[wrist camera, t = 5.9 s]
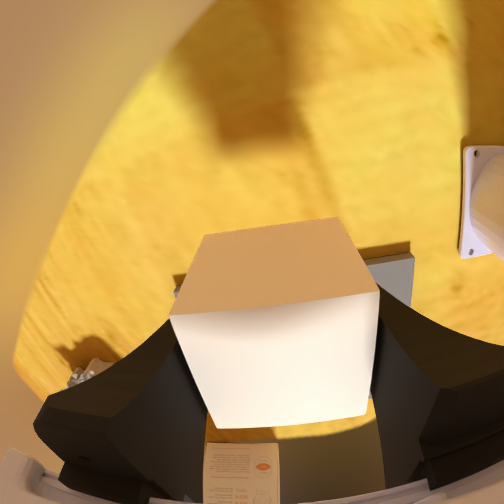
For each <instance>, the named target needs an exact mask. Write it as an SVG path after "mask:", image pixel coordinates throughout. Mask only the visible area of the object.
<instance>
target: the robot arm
mask: <svg viewBox="0 0 504 504" xmlns="http://www.w3.org/2000/svg"><path fill="white" fill-rule="evenodd" d="M475 150H476V156H474V152H475ZM470 249H471V251H470V252H469V250H470ZM458 253H459V256H460V257H461V258H462V259H467V258H472V257H477V256H482V255H486V254H491V253H494V254H495V255H496V256H497V257H498V258H500V259H501V260H502V261H503V262H504V146H496V145H477V146H466V147H465V148H464V150H463V201H462V219H461V232H460V242H459V251H458ZM375 283H376V282H375ZM376 284H377V283H376ZM377 286H378V288H379V290H380V298H379V312H378V324H377V335H376V345H375V354H374V362H373V370H372V377H371V384H370V392H371V395H372V399H373V403H374V408H375V413H376V418H377V423H378V429H379V436H380V441H381V448H382V456H383V464H384V475H385V486H386V490H382V491H378V492H373V493H368V494H363V495H358V496H353V497H347V498H341V499H334V500H328V501H320V502H311V503H300V504H504V346H501V345H496V344H491V343H488V342H484V341H481V340H478V339H474V338H471V337H469V336H466V335H463V334H460V333H458V332H456V331H453V330H451V329H448V328H446V327H444V326H442V325H440V324H438V323H436V322H434V321H432V320H430V319H428V318H426V317H425V316H423V315H421V314H419V313H418V312H416V311H415V310H413V309H412V308H410V307H409V306H407V305H405V304H404V303H403V302H401V301H400V300H398V299H397V298H395V297H394V296H393V295H391V294H390V293H389V292H387V291H386V290H385V289H384V288H382V287H381V286H380V285H378V284H377ZM207 412H208V409H207V406H206V404H205V402H204V400H203V398H202V395H201V393H200V391H199V389H198V387H197V384H196V382H195V380H194V377H193V375H192V373H191V370H190V368H189V366H188V363H187V361H186V359H185V356H184V354H183V351H182V349H181V346H180V344H179V341H178V339H177V336H176V334H175V331H174V329H173V326H172V324H171V321H170V318H169V319H168V320H167V321H166V322H165V323H164V324H163V325H162V326H161V327H160V328H159V329H158V330H157V331H156V332H155V333H154V334H152V335H151V336H150V337H149V338H148V339H147V340H146V341H145V342H144V343H142V344H141V345H140V346H139V347H138V348H136V349H135V350H134V351H132V352H131V353H130V354H128V355H127V356H126V357H124V358H123V359H122V360H120V361H118V362H117V363H115V364H114V365H112V366H111V367H109V368H107V369H106V370H104V371H103V372H101V373H99V374H97V375H95V376H93V377H92V378H90V379H88V380H86V381H84V382H81V383H79V384H77V385H75V386H73V387H70V388H67V389H65V390H62V391H60V392H57V393H54V394H52V395H49V396H48V397H47V399H46V401H45V403H44V404H43V406H42V408H41V410H40V412H39V413H38V415H37V417H36V419H35V421H34V423H33V425H34V429H35V432H36V433H37V435H38V436H39V438H40V439H41V440H42V441H43V442H44V443H45V444H46V445H47V446H48V447H49V448H50V449H51V450H52V451H53V452H54V453H55V454H56V455H57V456H59V457H60V458H61V459H62V460H63V461H64V462H65V463H64V465H63V468H62V470H61V473H60V474H59V473H56V472H53V471H50V470H47V469H45V468H44V466H43V465H41V464H40V463H39V462H38V461H37V460H36V459H34V458H33V457H31V456H30V455H28V454H26V453H23V452H21V451H18V450H16V449H14V448H9V450H8V451H7V454H6V455H5V457H4V459H3V461H2V463H1V465H0V504H203V461H204V443H205V430H206V419H207Z"/></svg>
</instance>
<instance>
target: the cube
mask: <svg viewBox="0 0 504 504" xmlns="http://www.w3.org/2000/svg"><path fill="white" fill-rule="evenodd" d="M379 298H380V290H379V288H378V286H377V284H376V283H375V281H374V279H373V277H372V275H371V273H370V272H369V270H368V268H367V266H366V264H365V263H364V261H363V259H362V257H361V255H360V254H359V252H358V250H357V248H356V247H355V245H354V243H353V242H352V240H351V238H350V236H349V235H348V233H347V231H346V230H345V228H344V226H343V225H342V223H341V221H340V220H339V218H338V217H335V218H326V219H319V220H311V221H303V222H295V223H288V224H280V225H273V226H265V227H258V228H251V229H243V230H236V231H229V232H222V233H215V234H208V235H205V236H204V238H203V240H202V242H201V244H200V246H199V248H198V251H197V253H196V255H195V257H194V259H193V261H192V264H191V266H190V268H189V270H188V272H187V275H186V277H185V279H184V281H183V284H182V286H181V288H180V290H179V293H178V295H177V297H176V299H175V302H174V304H173V306H172V309H171V311H170V313H169V318H170V321H171V324H172V326H173V329H174V331H175V334H176V336H177V339H178V341H179V344H180V346H181V349H182V351H183V354H184V356H185V359H186V361H187V363H188V366H189V368H190V370H191V373H192V375H193V377H194V380H195V382H196V384H197V387H198V389H199V391H200V393H201V395H202V398H203V400H204V402H205V404H206V406H207V409H208V411H209V413H210V415H211V417H212V419H213V421H214V423H215V425H216V427H217V428H256V427H272V426H285V425H296V424H305V423H313V422H321V421H329V420H335V419H342V418H348V417H354V416H359V415H365V414H366V409H367V403H368V397H369V391H370V384H371V377H372V370H373V362H374V354H375V345H376V335H377V324H378V312H379Z"/></svg>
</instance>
